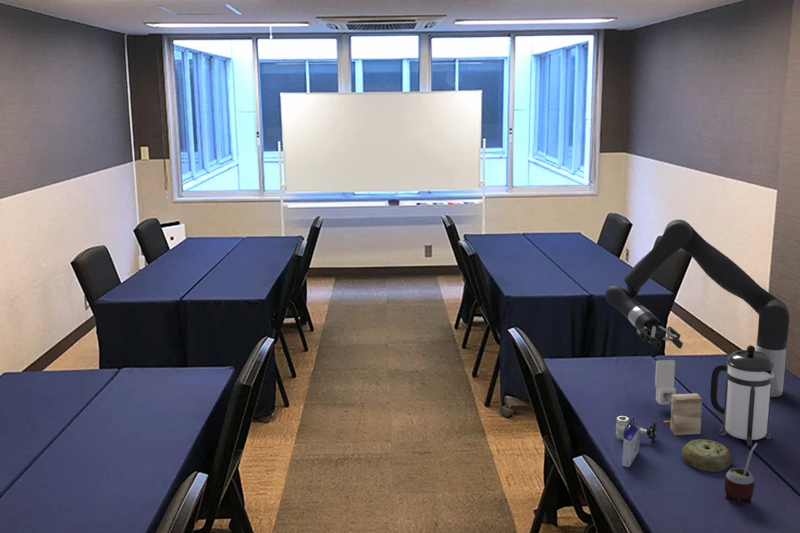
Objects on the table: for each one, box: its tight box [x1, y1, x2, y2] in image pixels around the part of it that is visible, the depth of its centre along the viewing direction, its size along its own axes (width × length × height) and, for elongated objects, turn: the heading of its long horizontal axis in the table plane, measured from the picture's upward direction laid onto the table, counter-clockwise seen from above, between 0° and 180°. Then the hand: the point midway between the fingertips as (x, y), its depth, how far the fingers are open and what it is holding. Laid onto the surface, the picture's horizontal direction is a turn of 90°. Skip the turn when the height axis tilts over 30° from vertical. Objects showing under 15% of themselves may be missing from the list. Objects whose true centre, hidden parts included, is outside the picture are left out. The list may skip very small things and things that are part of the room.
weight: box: [680, 438, 733, 473], centre depth 213 cm, size 14×13×5 cm
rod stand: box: [662, 392, 703, 436], centre depth 239 cm, size 23×8×12 cm, turn 2°
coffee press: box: [709, 345, 774, 448], centre depth 224 cm, size 17×16×30 cm
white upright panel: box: [654, 359, 677, 406], centre depth 245 cm, size 4×6×14 cm, turn 92°
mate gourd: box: [724, 442, 758, 507], centre depth 191 cm, size 8×8×15 cm
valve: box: [615, 415, 658, 444], centre depth 227 cm, size 7×7×12 cm
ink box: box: [621, 415, 641, 468], centre depth 215 cm, size 12×2×12 cm, turn 148°
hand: (670, 346), depth 244 cm, fingers open, 8 cm apart
